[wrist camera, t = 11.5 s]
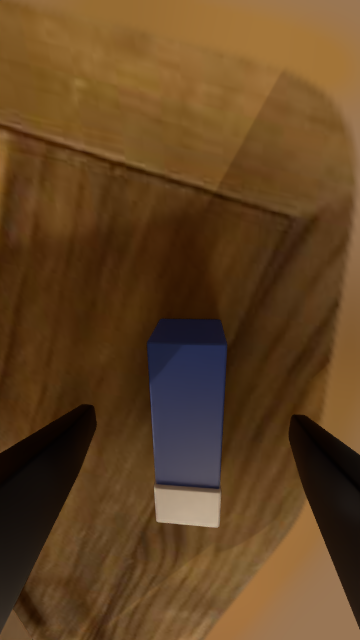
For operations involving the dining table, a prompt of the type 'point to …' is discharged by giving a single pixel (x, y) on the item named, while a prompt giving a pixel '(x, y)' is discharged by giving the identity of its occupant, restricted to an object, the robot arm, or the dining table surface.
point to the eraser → (187, 418)
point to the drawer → (14, 629)
